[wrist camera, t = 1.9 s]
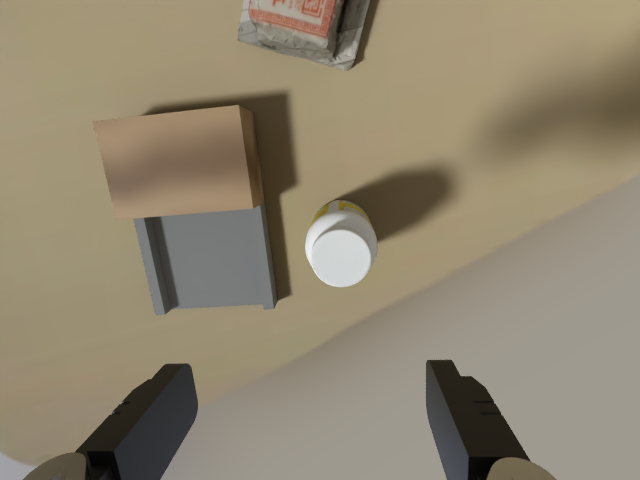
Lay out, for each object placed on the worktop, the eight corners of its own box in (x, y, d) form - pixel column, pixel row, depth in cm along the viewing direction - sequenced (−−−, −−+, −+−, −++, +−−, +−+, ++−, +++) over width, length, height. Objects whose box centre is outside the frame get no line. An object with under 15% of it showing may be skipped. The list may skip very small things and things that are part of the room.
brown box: (125, 126, 30) (92, 121, 26) (252, 112, 29) (238, 104, 25) (144, 212, 32) (116, 219, 28) (264, 202, 31) (253, 208, 27)
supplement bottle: (319, 259, 32) (307, 302, 22) (307, 205, 30) (290, 225, 21) (374, 250, 31) (388, 290, 21) (365, 194, 30) (375, 210, 20)
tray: (144, 212, 32) (132, 215, 30) (264, 202, 31) (259, 205, 29) (165, 307, 34) (155, 314, 32) (277, 300, 33) (273, 308, 31)
